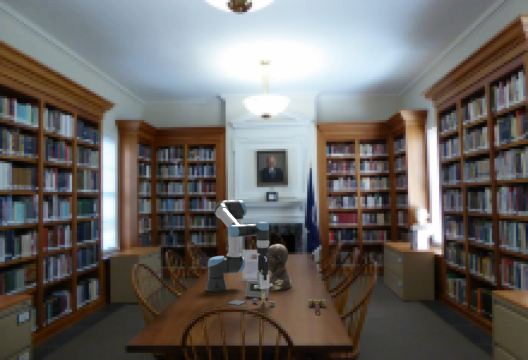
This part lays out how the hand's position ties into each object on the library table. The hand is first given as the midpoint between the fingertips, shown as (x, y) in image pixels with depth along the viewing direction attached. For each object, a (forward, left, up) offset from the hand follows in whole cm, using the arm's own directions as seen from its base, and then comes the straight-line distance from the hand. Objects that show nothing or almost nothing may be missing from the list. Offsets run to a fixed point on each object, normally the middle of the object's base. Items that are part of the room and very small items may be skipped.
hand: (263, 284), depth 241 cm
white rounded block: (0, 0, -2) cm, 2 cm away
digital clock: (-13, +14, -13) cm, 23 cm away
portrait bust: (-19, +51, -13) cm, 56 cm away
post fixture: (0, 0, -12) cm, 13 cm away
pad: (-16, -6, -12) cm, 21 cm away
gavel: (+34, +5, -13) cm, 37 cm away
